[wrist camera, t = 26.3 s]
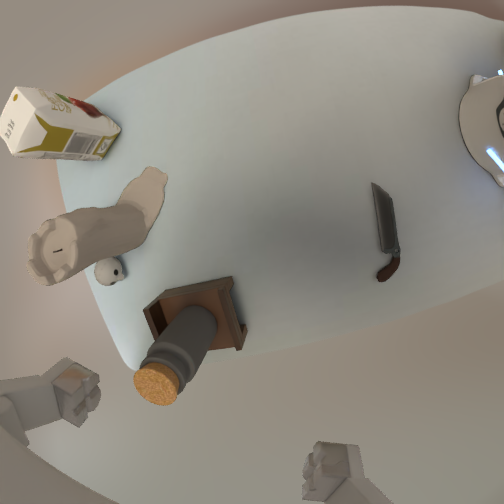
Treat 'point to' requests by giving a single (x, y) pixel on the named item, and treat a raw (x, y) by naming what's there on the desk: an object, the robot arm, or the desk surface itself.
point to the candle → (96, 231)
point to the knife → (386, 231)
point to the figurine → (108, 271)
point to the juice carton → (55, 127)
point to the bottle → (176, 355)
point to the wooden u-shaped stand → (204, 295)
